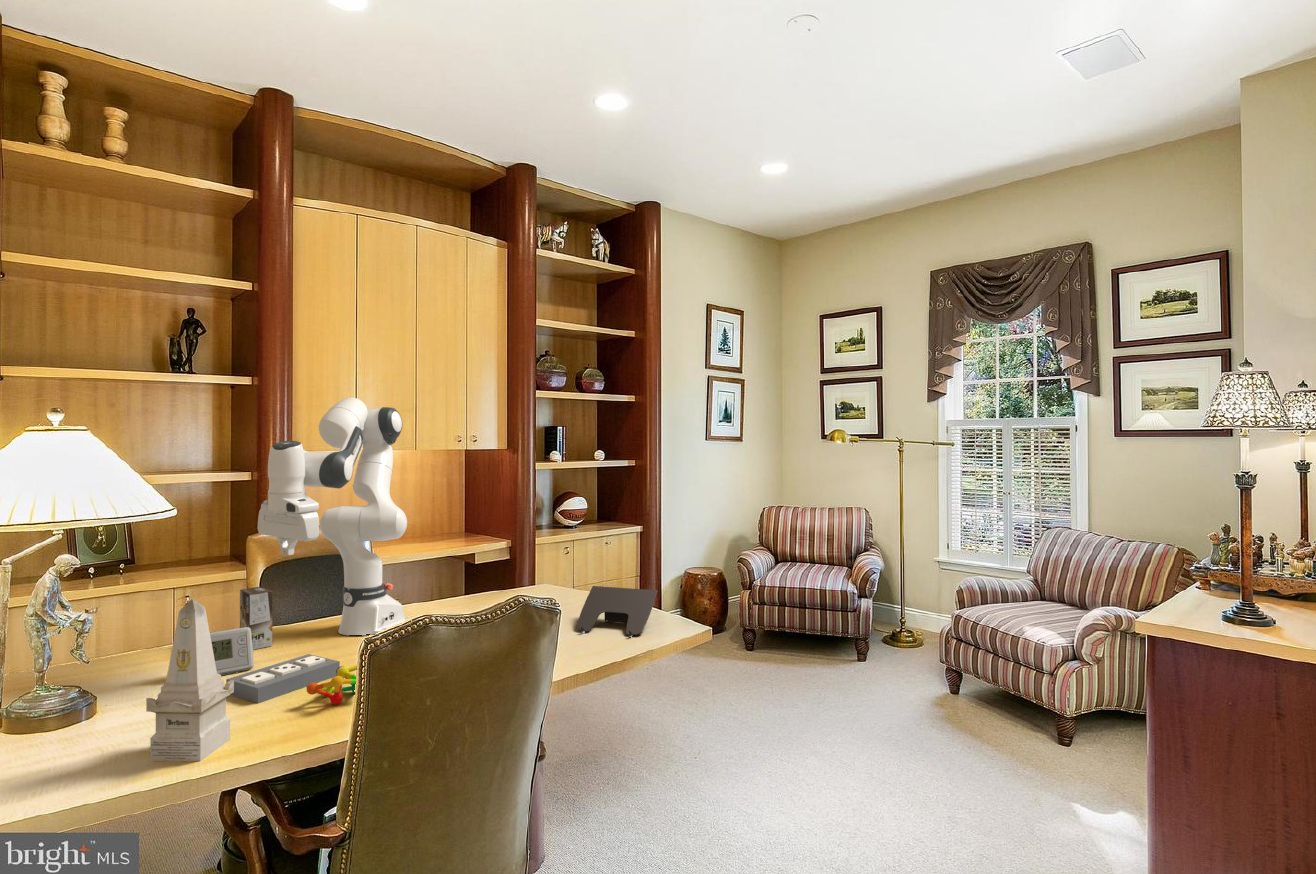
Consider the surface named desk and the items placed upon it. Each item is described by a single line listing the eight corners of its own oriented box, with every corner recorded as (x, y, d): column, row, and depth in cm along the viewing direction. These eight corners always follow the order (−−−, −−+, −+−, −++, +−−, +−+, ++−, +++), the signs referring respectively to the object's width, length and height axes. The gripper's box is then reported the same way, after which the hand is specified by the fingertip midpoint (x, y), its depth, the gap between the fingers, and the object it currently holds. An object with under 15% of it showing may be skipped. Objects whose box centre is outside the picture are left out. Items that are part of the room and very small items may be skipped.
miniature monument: (146, 761, 136) (146, 604, 136) (182, 738, 147) (183, 592, 146) (201, 762, 136) (202, 605, 136) (233, 738, 147) (234, 592, 146)
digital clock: (178, 684, 177) (178, 641, 177) (181, 673, 184) (181, 632, 184) (253, 674, 185) (254, 632, 185) (253, 663, 193) (253, 624, 192)
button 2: (287, 675, 181) (287, 662, 181) (300, 678, 179) (300, 666, 179) (269, 681, 177) (269, 668, 177) (282, 684, 174) (282, 672, 174)
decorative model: (293, 688, 165) (341, 652, 178) (308, 721, 166) (355, 684, 179) (333, 682, 159) (379, 646, 173) (348, 717, 161) (393, 679, 174)
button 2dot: (312, 667, 187) (312, 655, 187) (325, 670, 185) (325, 658, 185) (295, 672, 183) (295, 660, 183) (308, 676, 181) (308, 663, 181)
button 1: (261, 683, 175) (261, 671, 175) (274, 687, 173) (274, 674, 173) (241, 690, 170) (241, 677, 170) (254, 694, 168) (254, 680, 168)
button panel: (308, 667, 190) (308, 654, 190) (339, 674, 185) (339, 661, 185) (226, 693, 171) (226, 679, 171) (258, 703, 165) (258, 688, 165)
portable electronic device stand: (574, 649, 229) (570, 627, 224) (595, 601, 249) (591, 580, 244) (644, 655, 223) (641, 632, 219) (659, 606, 243) (657, 585, 239)
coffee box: (273, 646, 208) (273, 591, 208) (249, 651, 203) (249, 594, 203) (262, 639, 214) (262, 585, 214) (238, 644, 209) (238, 589, 209)
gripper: (250, 500, 192) (251, 551, 193) (302, 507, 183) (302, 561, 184) (272, 498, 198) (273, 547, 198) (323, 504, 188) (323, 556, 189)
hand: (287, 554), depth 191 cm, fingers closed
